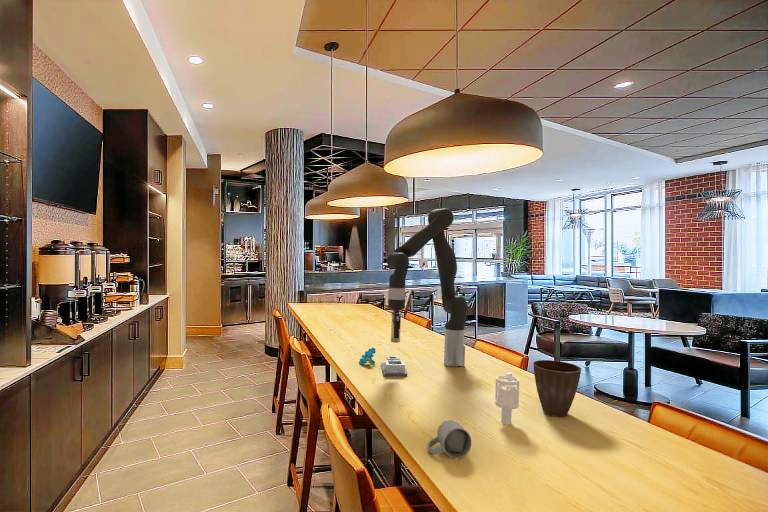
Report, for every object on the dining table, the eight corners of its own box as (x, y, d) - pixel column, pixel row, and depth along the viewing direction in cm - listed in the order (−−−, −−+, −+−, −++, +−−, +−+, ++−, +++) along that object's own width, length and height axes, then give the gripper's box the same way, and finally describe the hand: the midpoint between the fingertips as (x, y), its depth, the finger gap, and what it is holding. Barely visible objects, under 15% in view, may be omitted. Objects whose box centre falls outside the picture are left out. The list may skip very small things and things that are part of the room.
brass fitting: (399, 340, 184) (400, 322, 184) (400, 342, 180) (401, 324, 180) (390, 340, 183) (391, 322, 183) (391, 342, 179) (391, 324, 179)
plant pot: (575, 408, 144) (576, 362, 144) (584, 424, 130) (585, 373, 130) (530, 402, 148) (531, 358, 148) (533, 418, 134) (535, 369, 134)
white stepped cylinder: (520, 421, 131) (521, 374, 131) (515, 429, 125) (516, 379, 125) (498, 416, 135) (499, 370, 135) (491, 423, 129) (493, 375, 129)
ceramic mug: (460, 443, 114) (461, 415, 114) (471, 457, 106) (472, 428, 106) (423, 446, 113) (423, 417, 113) (432, 460, 105) (432, 430, 105)
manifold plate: (402, 365, 195) (402, 355, 195) (407, 376, 177) (407, 365, 177) (381, 365, 194) (381, 355, 194) (384, 376, 176) (384, 365, 176)
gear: (357, 357, 201) (372, 343, 201) (365, 365, 202) (380, 351, 202) (359, 366, 190) (375, 352, 190) (368, 375, 191) (384, 360, 191)
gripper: (407, 300, 175) (406, 340, 175) (403, 296, 189) (402, 334, 189) (389, 299, 174) (388, 340, 174) (386, 296, 188) (385, 334, 188)
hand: (395, 336), depth 181 cm, fingers closed on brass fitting, 4 cm apart
